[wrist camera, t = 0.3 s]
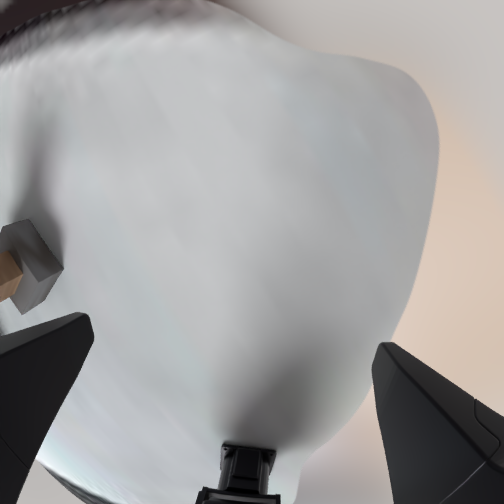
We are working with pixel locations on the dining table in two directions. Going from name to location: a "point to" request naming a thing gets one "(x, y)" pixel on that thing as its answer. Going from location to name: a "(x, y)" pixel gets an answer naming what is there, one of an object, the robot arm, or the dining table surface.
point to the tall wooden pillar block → (26, 266)
